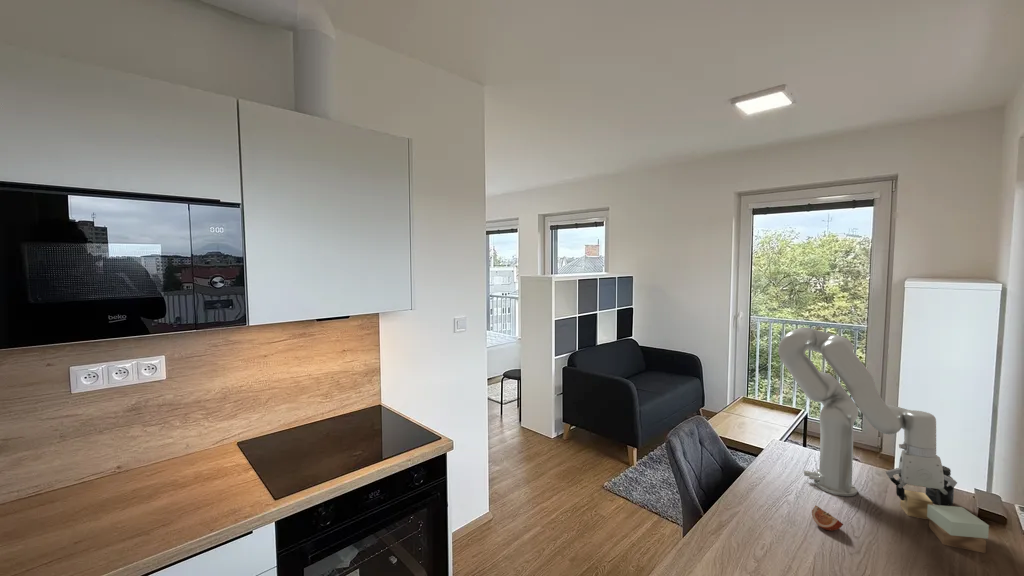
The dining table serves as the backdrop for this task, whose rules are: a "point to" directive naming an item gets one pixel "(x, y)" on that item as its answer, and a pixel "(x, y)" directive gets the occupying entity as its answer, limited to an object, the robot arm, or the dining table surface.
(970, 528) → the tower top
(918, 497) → the oak cube
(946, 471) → the supplement bottle
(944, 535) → the block
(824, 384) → the robot arm
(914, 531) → the dining table surface
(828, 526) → the fruit slice
